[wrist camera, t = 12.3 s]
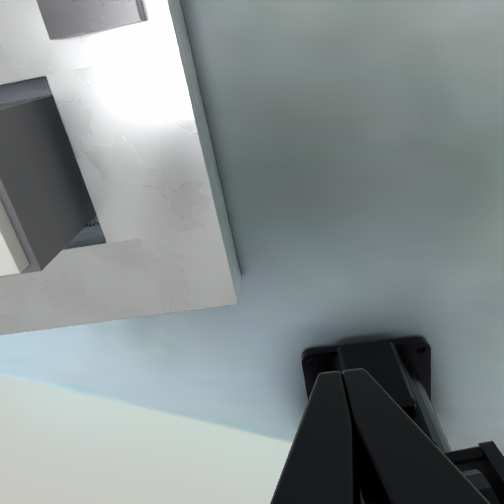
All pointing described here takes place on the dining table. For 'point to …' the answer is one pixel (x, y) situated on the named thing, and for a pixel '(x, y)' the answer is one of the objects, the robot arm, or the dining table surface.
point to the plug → (37, 187)
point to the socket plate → (123, 164)
